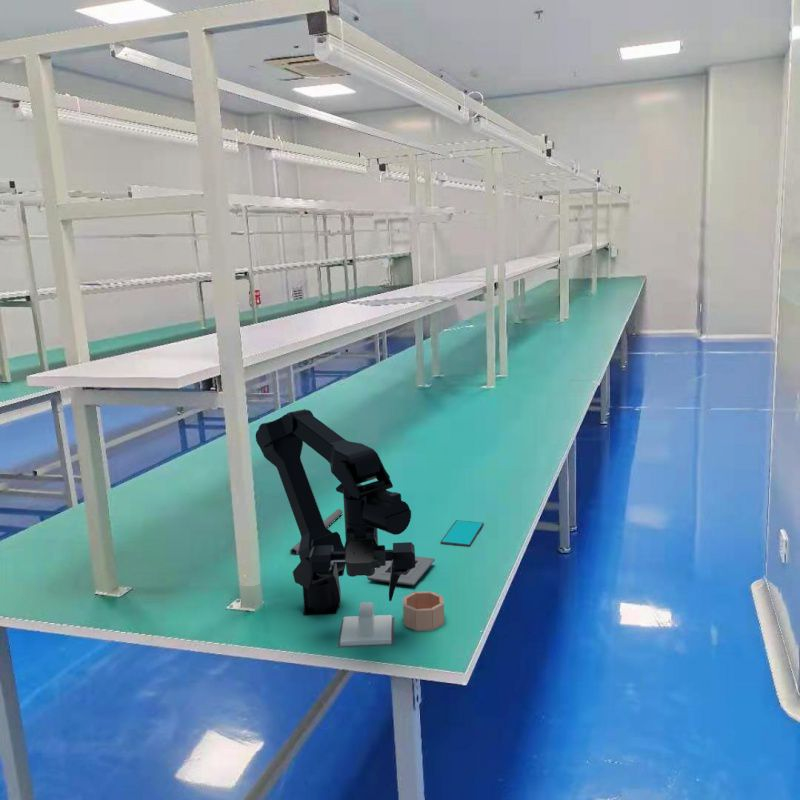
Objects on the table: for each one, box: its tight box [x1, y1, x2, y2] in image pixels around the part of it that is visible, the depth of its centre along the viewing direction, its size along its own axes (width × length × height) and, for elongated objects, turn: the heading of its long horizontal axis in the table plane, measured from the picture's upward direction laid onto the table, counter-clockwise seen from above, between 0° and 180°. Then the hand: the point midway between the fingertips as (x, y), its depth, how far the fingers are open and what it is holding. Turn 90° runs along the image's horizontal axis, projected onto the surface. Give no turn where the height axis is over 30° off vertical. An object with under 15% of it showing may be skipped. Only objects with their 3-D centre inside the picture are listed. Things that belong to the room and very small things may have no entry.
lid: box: [340, 601, 393, 646], centre depth 132 cm, size 9×9×4 cm
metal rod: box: [289, 508, 344, 556], centre depth 182 cm, size 2×27×2 cm, turn 162°
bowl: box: [402, 590, 445, 632], centre depth 135 cm, size 8×8×4 cm
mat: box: [336, 617, 396, 649], centre depth 132 cm, size 10×10×1 cm
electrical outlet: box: [366, 555, 436, 587], centre depth 156 cm, size 13×10×2 cm
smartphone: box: [440, 520, 485, 548], centre depth 178 cm, size 7×1×15 cm
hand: (364, 600), depth 131 cm, fingers open, 9 cm apart
